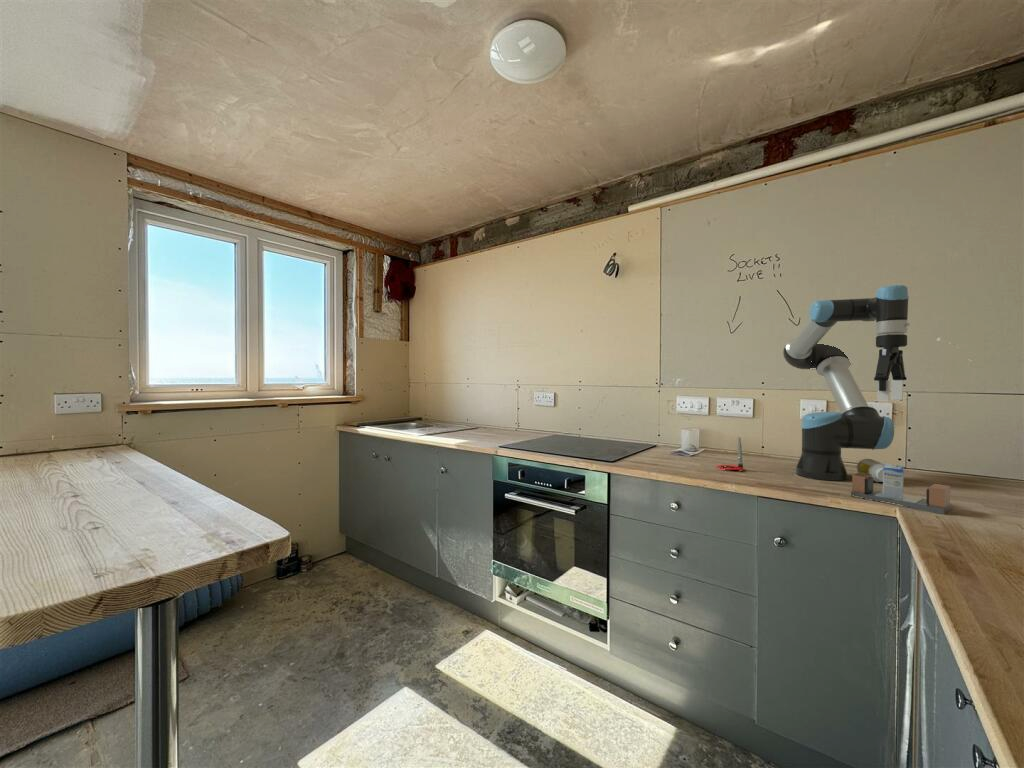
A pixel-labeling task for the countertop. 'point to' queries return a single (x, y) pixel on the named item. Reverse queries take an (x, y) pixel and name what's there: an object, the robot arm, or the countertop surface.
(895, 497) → the medicine box
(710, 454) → the countertop surface
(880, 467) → the supplement bottle
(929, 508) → the rail
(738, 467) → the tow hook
